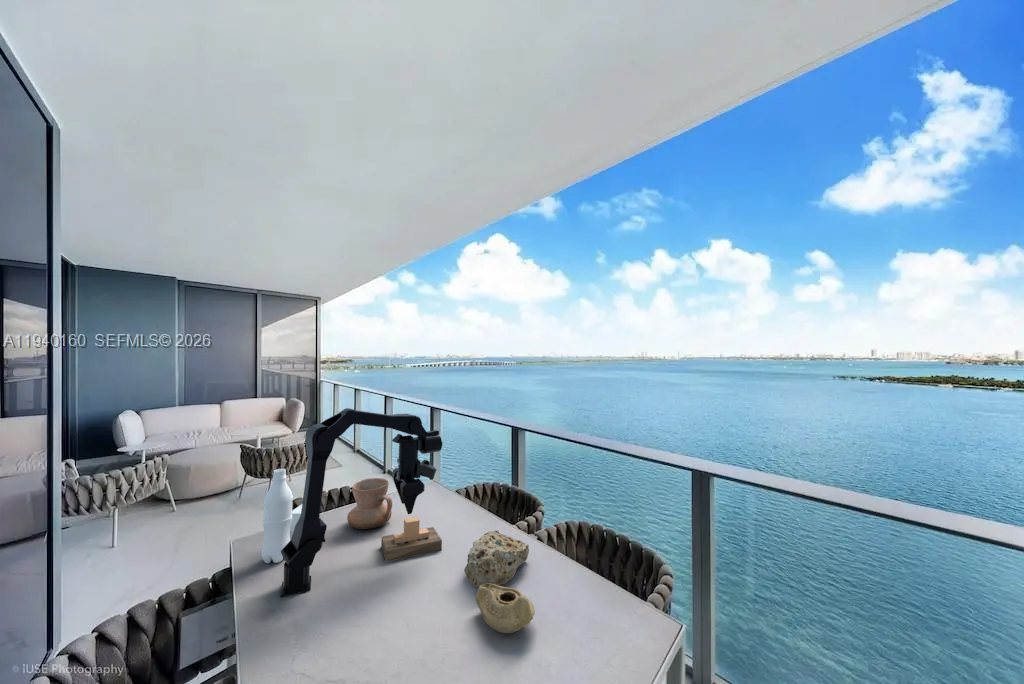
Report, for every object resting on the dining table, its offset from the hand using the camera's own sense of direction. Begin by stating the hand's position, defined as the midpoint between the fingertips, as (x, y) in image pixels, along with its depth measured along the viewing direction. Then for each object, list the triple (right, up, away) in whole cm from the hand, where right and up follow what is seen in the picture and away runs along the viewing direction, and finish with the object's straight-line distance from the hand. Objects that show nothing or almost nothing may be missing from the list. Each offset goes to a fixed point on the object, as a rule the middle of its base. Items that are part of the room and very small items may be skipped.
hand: (406, 508), depth 116 cm
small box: (-34, -12, +3) cm, 36 cm away
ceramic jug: (-17, -13, +17) cm, 28 cm away
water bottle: (-35, -12, -7) cm, 38 cm away
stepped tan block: (+1, -12, 0) cm, 12 cm away
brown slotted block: (+1, -12, 0) cm, 12 cm away
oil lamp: (+30, -11, -32) cm, 45 cm away
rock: (+28, -12, -11) cm, 33 cm away
